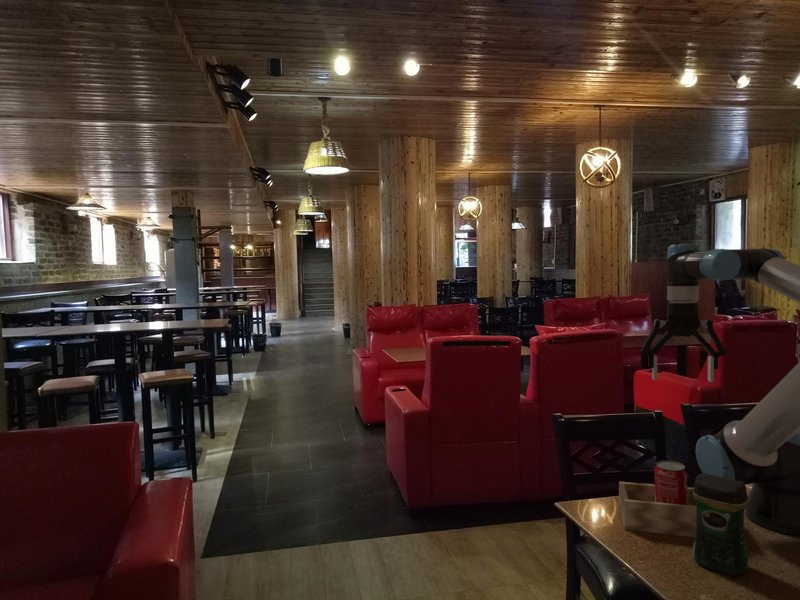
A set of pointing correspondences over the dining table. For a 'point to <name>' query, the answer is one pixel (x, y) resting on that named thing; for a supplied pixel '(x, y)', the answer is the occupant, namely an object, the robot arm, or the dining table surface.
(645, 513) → the crate
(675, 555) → the dining table surface
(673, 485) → the soda can
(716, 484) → the coffee jar
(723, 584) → the dining table surface
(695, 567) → the dining table surface
